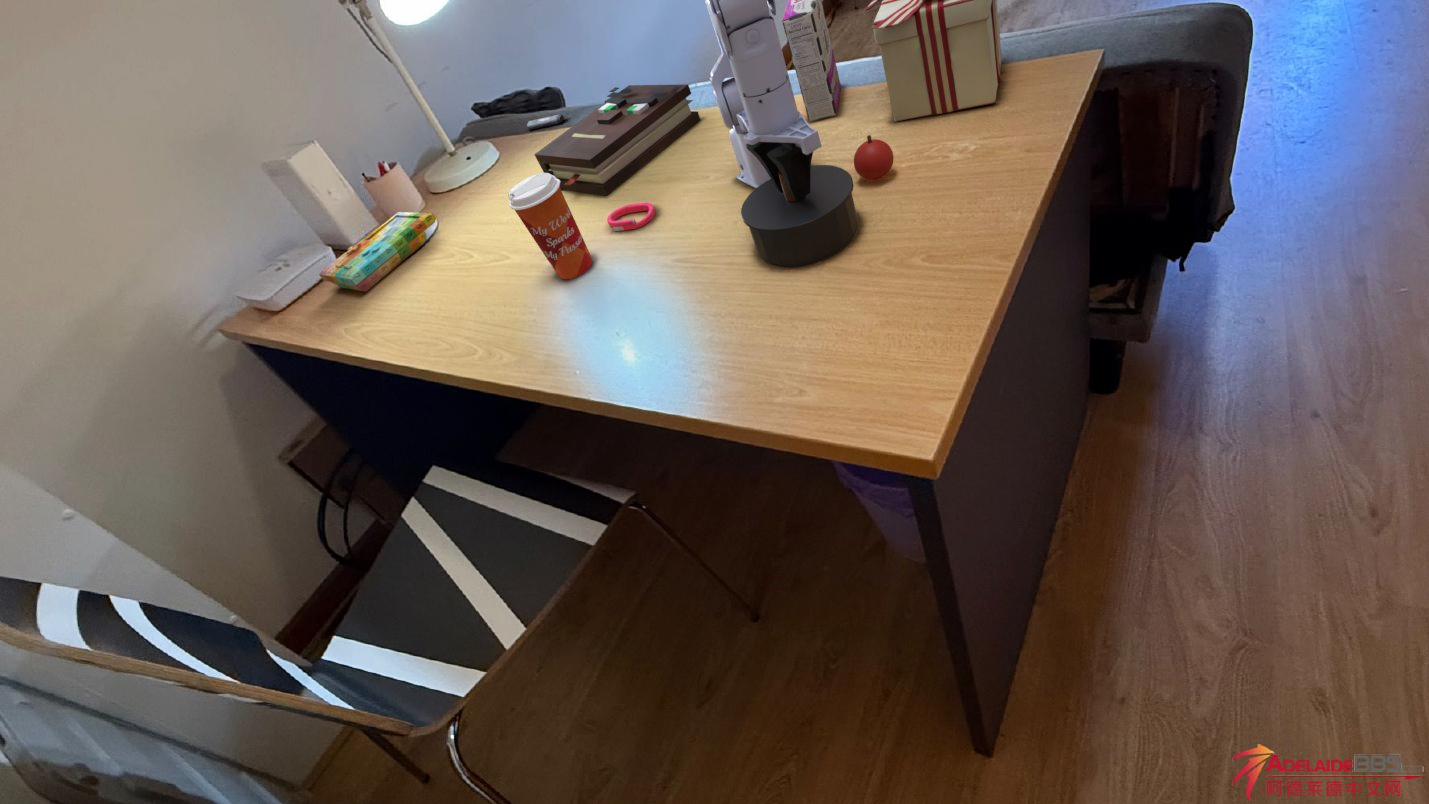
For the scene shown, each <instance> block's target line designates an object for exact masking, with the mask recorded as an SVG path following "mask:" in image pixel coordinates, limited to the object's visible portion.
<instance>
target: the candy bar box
mask: <svg viewBox="0 0 1429 804" xmlns="http://www.w3.org/2000/svg"><path fill="white" fill-rule="evenodd" d="M781 22H782V23H781V24H782V26H783V30H784V33H785V37H786V42H787V45H788V49H789V53H790V56H791V60H792V63H793V66H794V70H795V73H796V78H797V81H798V86H799V89H800V93H801V97H802V101H803V104H804V108H805V112H806V115H807V119H808V123H811V122H818V121H821V120H824V119H828V118H832V117H835V116H837V115H838V109H839V101H840V96H841V89H842V84H841V81H840V77H839V72H838V67H837V63H836V58H835V54H834V51H833V46H832V41H831V38H830V32H829V29H828V25H827V20H826V14H825V11H824V7H823V2H822V0H787V3H786V7H785V10H784V13H783V16H782V19H781Z"/></svg>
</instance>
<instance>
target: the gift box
mask: <svg viewBox="0 0 1429 804" xmlns="http://www.w3.org/2000/svg"><path fill="white" fill-rule="evenodd" d="M880 1H881V0H872V1H871V2H870V3H869V4H868V5H867V6H866V7H865V8H864V9H862V11H863V12H865V11H866V12H867V11H869V10H871V9H872V8H874V6H876V4H878V3H879V2H880ZM872 31H873V36H874V41H875V45H876V46H879V52H880V55H881V61H882V66H883V67H882V68H883V71H884V77H885V81H886V87H887V93H888V98H889V103H890V107H891V113H892V118H893V122H894V123H896V122H897V123H898V122H902V121H907V120H912V119H917V118H922V117H923V118H924V117H929V116H935V115H940V114H944V113H951V112H956V111H959V110H965V109H966V110H967V109H971V108H976V107H981V106H987V105H992V104H996V101H997V93H998V86H999V85H1001V77H1000V76H1001V66H1002V60H1003V57H1002V47H1001V34H1000V33H1001V32H1000V23H999V12H998V2H997V0H882V1H881V4H880V6H879V9H878V10H877V13H876V15H875V18H874V19H873V23H872Z"/></svg>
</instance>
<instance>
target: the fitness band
mask: <svg viewBox="0 0 1429 804" xmlns="http://www.w3.org/2000/svg"><path fill="white" fill-rule="evenodd" d="M646 211H647V214H646V215H645V216H644V217H643V218H642V219H640V220H639V221H637V220H636V219H635V218H631V219H624V220H616V219H618V218H620V217H622V216H625V215H627V214H630V213H638V212H646ZM656 214H657V212H656V208H655V206H654V204H653V203H651V202H647V201H645V202H637V203H629V204H627V205H626V204H625V205H623V206H621V207H619V208H617V209H615V210H614V211H612V212H610V214H609V215H608V216H607V218H606V222H607V224H608V225H609V226H610V227H612V230H613V231H614V232H621V231H623V232H624V231H630V230H636V229H639V228H641V227H643V226H645V225H647V224H649V223H650V222H651V221H652V220H653V219H654V218H655V216H656Z"/></svg>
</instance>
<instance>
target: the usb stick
mask: <svg viewBox="0 0 1429 804" xmlns="http://www.w3.org/2000/svg"><path fill="white" fill-rule="evenodd" d="M564 119H565V116H564V115H563V114H561V113H559V114H555V115H550V116H546V117H541V118H537V119H532V120H529V121H528V122H527V124H526V128H527V129H528V131H530V130H535V129H541V128H544V127H549V126H553V125H554V126H555V125H558V124H561V123H562V122H563V121H564Z"/></svg>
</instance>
